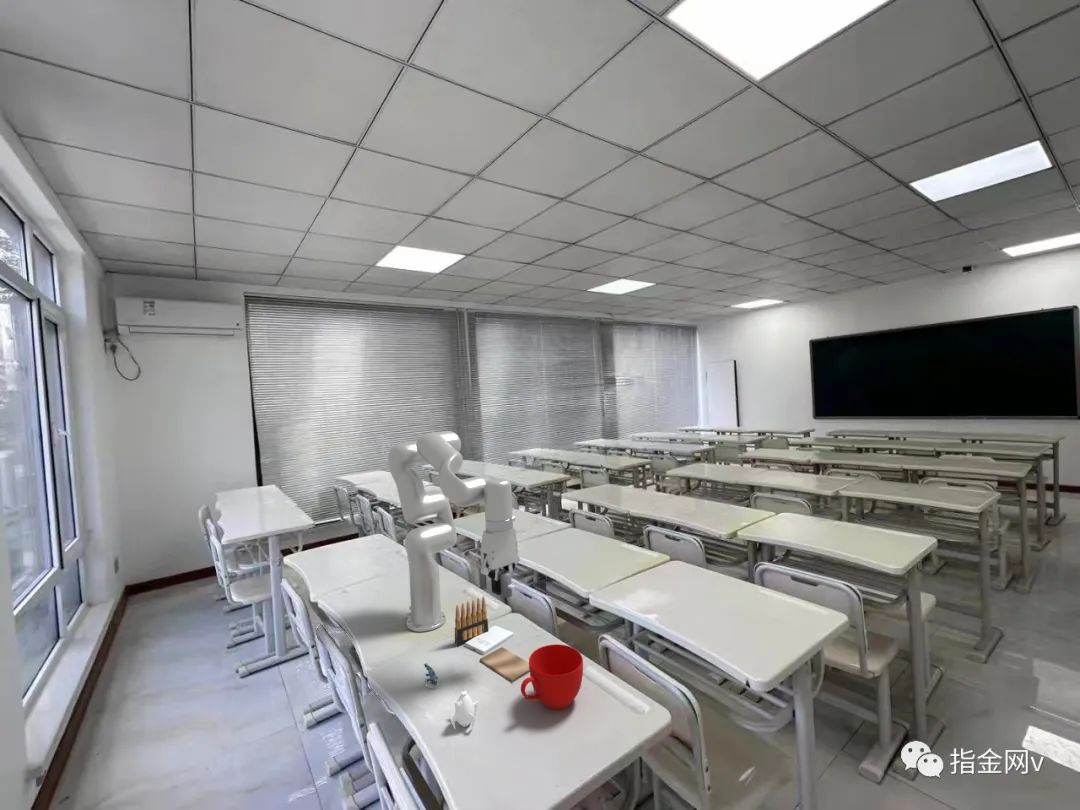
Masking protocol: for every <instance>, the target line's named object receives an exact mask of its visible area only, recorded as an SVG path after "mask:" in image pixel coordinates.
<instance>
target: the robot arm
mask: <svg viewBox="0 0 1080 810" xmlns="http://www.w3.org/2000/svg"><path fill="white" fill-rule="evenodd" d="M461 449H462V440H461V439H460V437H459V436H458V434H457V433H456V432H453V430H452V431H451V430H446V431H445V430H443V431H432V432H427V433H424V434H422V435H420V436H419V437H418V438H417V440H414V441H405V442H400V443H397V444H395V445H393V446H392V447H391V448H390V450H389V451H388V453H387V455H388V456H387V465H388V469H389V472H390V475H391V477H392V478H393V480H394V483H395V485H396V488H397V494H398V499H399V502H400V508H401V511H402V514H403V515H402V516H403V518H404V520H405V521H406V523H408V524H410V525H413V524H420V523H423V522H424V523H425V522H427V521H431V520H433V523H431V524H426V525H421V526H418V527H416V528H414V529H412V530H410V531H408V533H407V534H406V536H405V538H404V547H405V553H406V554H407V555H406V556H407V561H408V569H409V570H408V572H409V573H408V574H409V575H408V576H409V596H410V597H409V598H410V606H409V608H408V610H409V611H410V616H409V617H408V619H407V620H406V627H407V629H408V630H410V631H413V632H416V633H417V632H421V633H422V632H423V633H424V632H429V631H433V630H435V629H438V628H440V627H441V626H443V625H444V624H445V622H446V621H447V615H446V614H445V612H443V611H442V609H441V608H442V607H441V584H440V583H441V581H440V568H439V567H440V566H439V564H438V563H437V561H436V560H435V559H434V558H433V555H434V554H437V553H440V552H442V551H445V550H448V549H450V548H453V546H455V544H456V542H457V540H458V539H457V538H458V536H457V535H458V534H457V529H456V525H455V520H454V516H453V512H452V508H451V504H450V502H451V503H452V504H454V505H456V506H457V507H460V508H467V507H470V506H475V505H478V504H483V503H484V517H485V518H484V524H485V530H482V532H483V533H482V536H481V544H480V565H481V568H480V571H479V572H480V574H482V575H483V576H487V577H488V578H489V579H490V581H491V583H490V585H491V593H492V592H493V593H492V594H494V593H495V594H494V595H496V594H498V595H500V594H501V585H500V580H499V568H501V569H504V570H506V571H509V572H511V576H512V575H513V573H514V569H515V568H516V566H517V565H518V564H519V563H520V561H521V558H520V556H519V548H518V547H519V545H518V538H517V533H516V529H515V527H514V522H515V520H516V517H515V516H513V515H514V514H513V498H512V497H513V496H512V494H513V493H512V483H511V481H510V480H509V479H507V478H497V477H495V476H493V475H490V474H485V475H484V474H483V475H478V476H473V477H467V478H463V479H461V478H459V477H458V476H456V474H457V473H458V472H459V471H460V469H461V468H462V466H463V463H464V457H463V455H462V453H460V451H461ZM426 465H430V466H431V467H433V469H435V471H437V472H438V477H437V479H438V485H439V488H440V490H435V489H434V490H430V491H426V490H425V485H424V482H423V479H422V477H421V475H420V474H419V473H418V472H416V471H415V470H414V469H413V468H414V467H421V466H426ZM498 595H497V596H498Z"/></svg>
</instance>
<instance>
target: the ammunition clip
mask: <svg viewBox="0 0 1080 810" xmlns="http://www.w3.org/2000/svg"><path fill="white" fill-rule="evenodd" d="M476 600H477V601H476V602H475V599H472V601H471V604H470V601H468V600H467V603H466V607H465V603H464V602H462V603H461V606H459V604H457V605H456V607H455V618H454V622H455V624H454V625H455V627H454V645H455V646H456V647H457V648H459V647H461V646H465V643H466V642H467V641H469V640H471V639H473V638H474V637H476V636H478V635H481V634H483V633H486V632H488V631H489V630H488V629H489V621H488V614H487V604H486V603H487V602H486V599H485V595H484V596H482V599H481V600H480V598H479V597H478V598H477V599H476ZM460 607H461V609H460Z"/></svg>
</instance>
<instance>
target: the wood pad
mask: <svg viewBox="0 0 1080 810" xmlns="http://www.w3.org/2000/svg"><path fill="white" fill-rule="evenodd" d="M479 662H481V663H482V664H484V666H487V667H489V668H490V669H492V670H493V671H494V672H496V673H498V674H499V675H501V676H502V677H503V678H505V679H506V680H508V681H509V682H511V683H514V682H515V681H517V680H519V679H520V678H522V677H524V676H525V675H527V674H530V670H529V661H527V660H525V659H524V658H522V657H520V656H518V655H517V654H515V653H513V652H512V651H510V650H508V649H506V648H504V647H503V646H500V648H497V649H496V650H494V651H492V652H489V653H487V654H485V655H483V656H482V657H481V658H479Z"/></svg>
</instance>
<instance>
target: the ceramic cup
mask: <svg viewBox="0 0 1080 810" xmlns="http://www.w3.org/2000/svg"><path fill="white" fill-rule="evenodd" d="M583 659H584V658H583V656H582V654H581V652H580V651H579V650H577V649H576V648H574V647H572V646H569V645H567V644H549V645H548V644H547V645H543V646H541V647H539V648H537V649H535V650H534V651H533V652H531V654H530V656H529V658H528V663H529V670H530V672H529V677H526V678H525V679H523V681H522V682H521V684H520V693H521V696H523V697H524V698H525V699H526V700H528V701H529V700H530V701H535V700H536V701H537V700H540V701H541V702H542V703H543V704H544V705H545V707H547V708H549V709H551V710H556V711H557V710H564V709H566V708H567V707H569V706H570V705H571V704H572V702H573V701H574V700H575V699H576V697H577V696H578V693H579V691H580V689H581V686H582V680H583V675H584V673H583V671H584V660H583ZM530 683H531V684H532V687H533V691H534V693H535V694H532V695H531V694H529V695H528V694H527V693H526V688H527V686H528V684H530Z"/></svg>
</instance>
